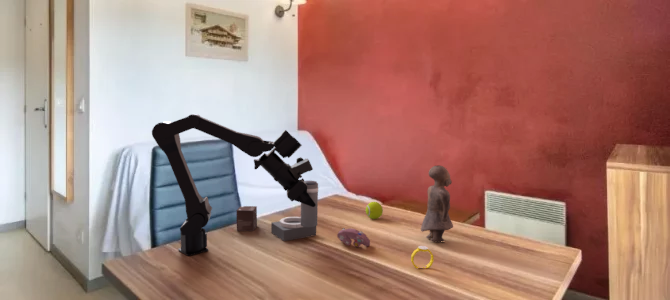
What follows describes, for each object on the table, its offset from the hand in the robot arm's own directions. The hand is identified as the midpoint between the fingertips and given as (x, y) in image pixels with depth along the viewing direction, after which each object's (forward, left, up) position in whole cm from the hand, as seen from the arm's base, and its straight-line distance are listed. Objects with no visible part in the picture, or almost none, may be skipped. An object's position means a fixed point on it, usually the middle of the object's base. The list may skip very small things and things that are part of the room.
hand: (313, 203), depth 124 cm
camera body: (+3, +13, -13) cm, 19 cm away
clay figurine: (+33, -24, -14) cm, 43 cm away
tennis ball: (+38, +6, -14) cm, 41 cm away
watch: (+10, -33, -14) cm, 37 cm away
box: (-5, +29, -14) cm, 32 cm away
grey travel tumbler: (-1, +1, -7) cm, 7 cm away
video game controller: (+9, -9, -14) cm, 19 cm away
